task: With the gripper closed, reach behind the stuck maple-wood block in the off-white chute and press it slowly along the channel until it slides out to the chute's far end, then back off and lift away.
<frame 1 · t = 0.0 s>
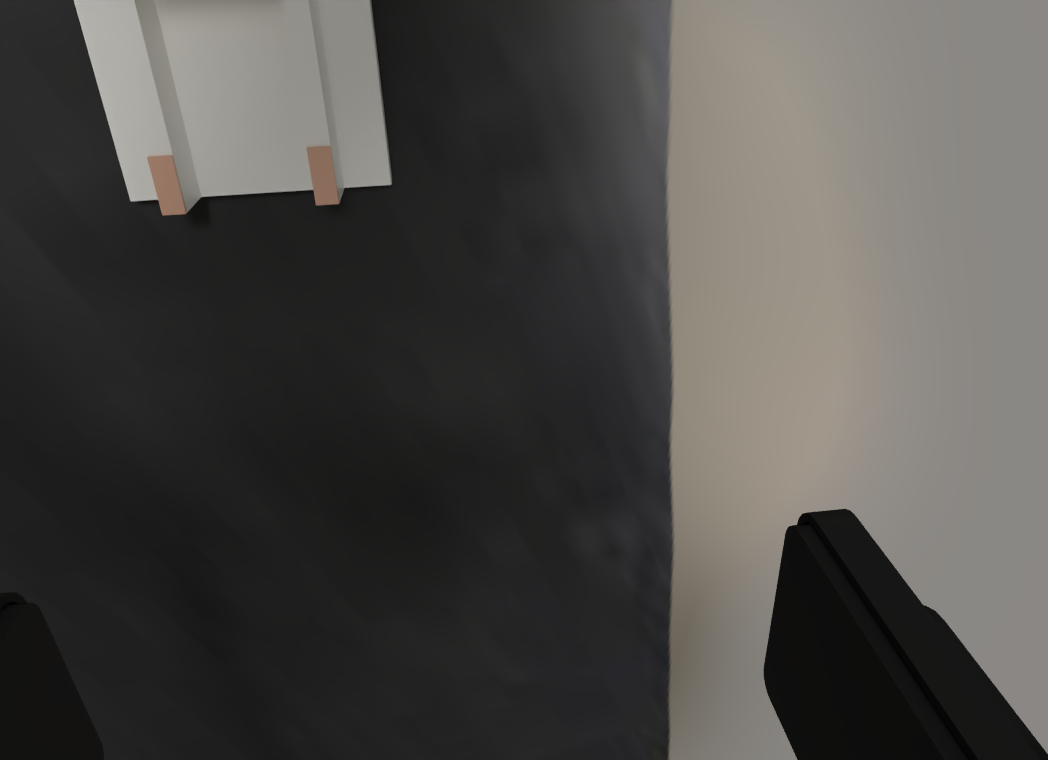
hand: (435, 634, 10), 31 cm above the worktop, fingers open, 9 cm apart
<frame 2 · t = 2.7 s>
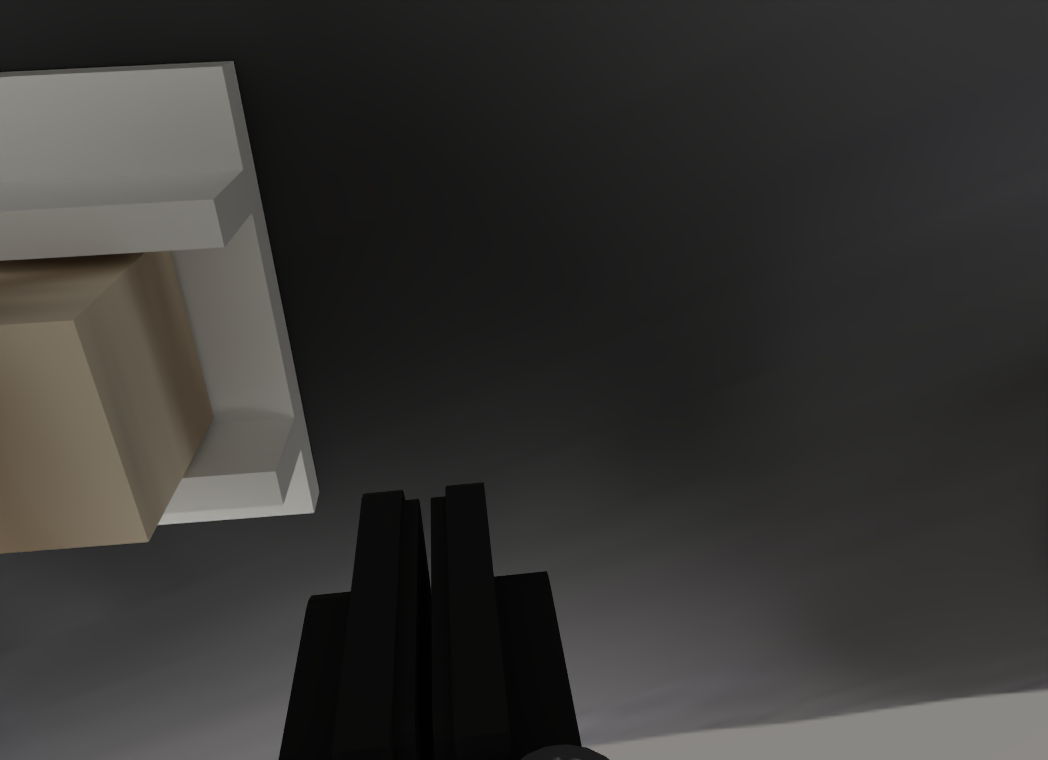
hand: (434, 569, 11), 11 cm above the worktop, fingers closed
jammed block: (40, 386, 17), point 4 cm above the worktop, slide at 0.0 cm
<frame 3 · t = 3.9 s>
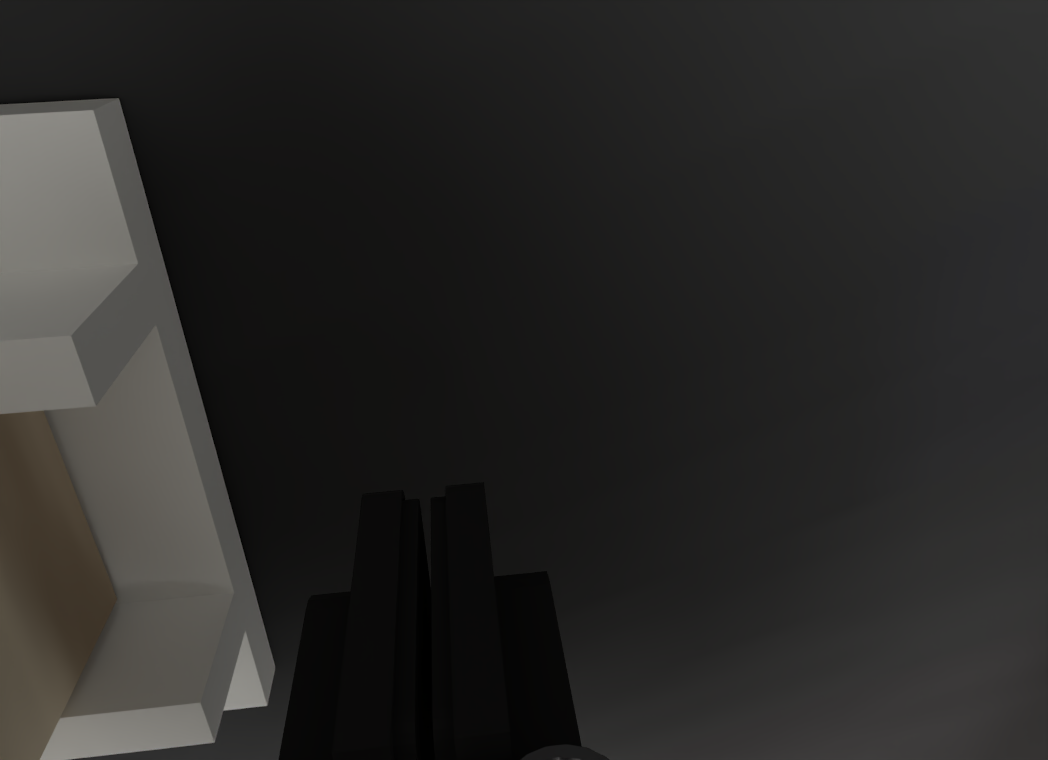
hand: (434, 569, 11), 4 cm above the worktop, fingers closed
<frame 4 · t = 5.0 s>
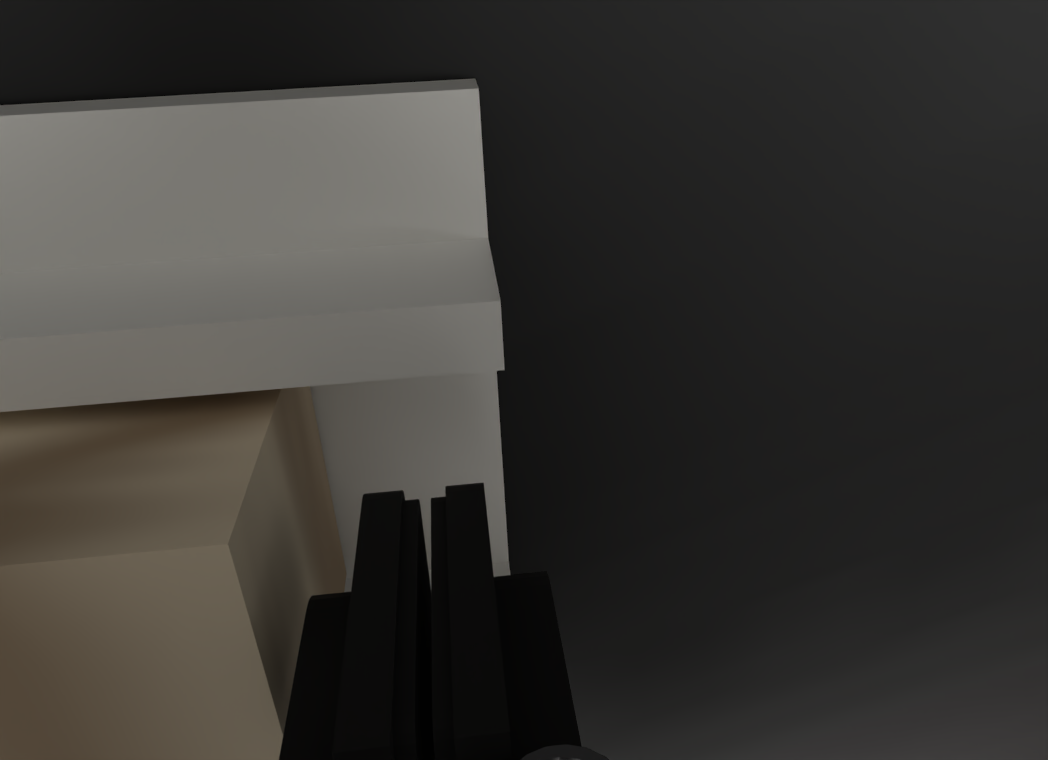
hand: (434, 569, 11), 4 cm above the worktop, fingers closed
jammed block: (128, 580, 11), point 4 cm above the worktop, slide at 1.1 cm, touching gripper
chute: (31, 454, 14), on the worktop
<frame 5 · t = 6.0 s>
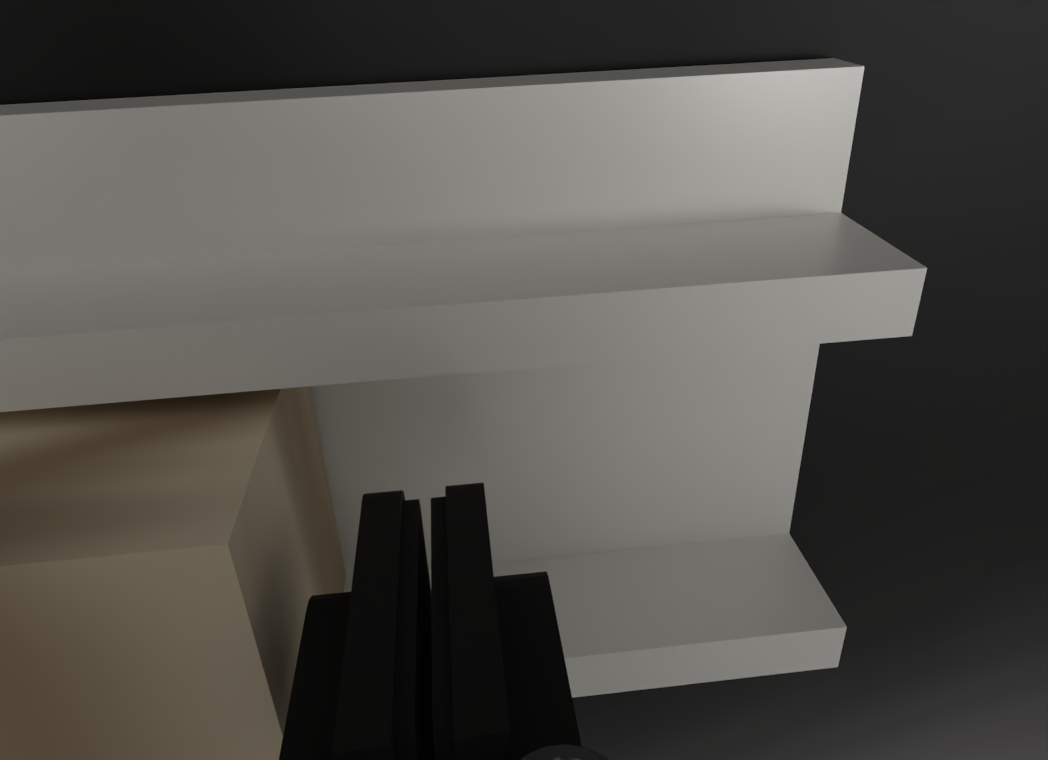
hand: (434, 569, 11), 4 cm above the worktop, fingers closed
jammed block: (127, 580, 11), point 4 cm above the worktop, slide at 6.8 cm, touching gripper
chute: (346, 426, 15), on the worktop
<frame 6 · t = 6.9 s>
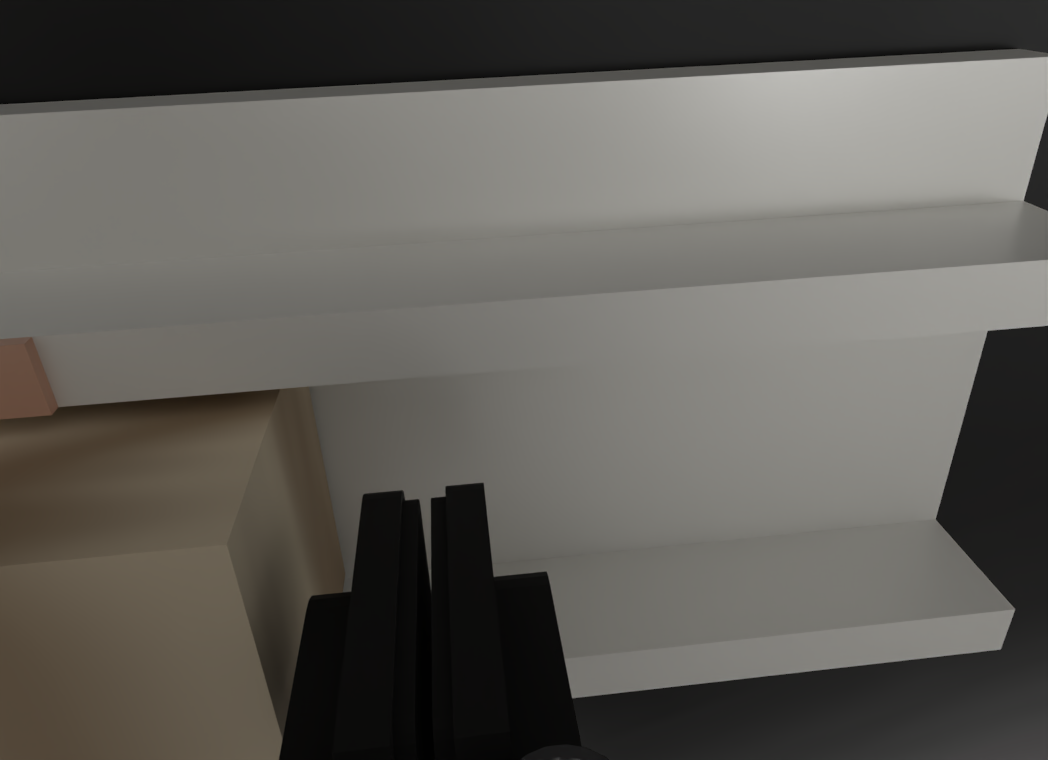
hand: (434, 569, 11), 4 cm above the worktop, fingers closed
jammed block: (126, 580, 11), point 4 cm above the worktop, slide at 9.9 cm, touching gripper
chute: (510, 412, 15), on the worktop
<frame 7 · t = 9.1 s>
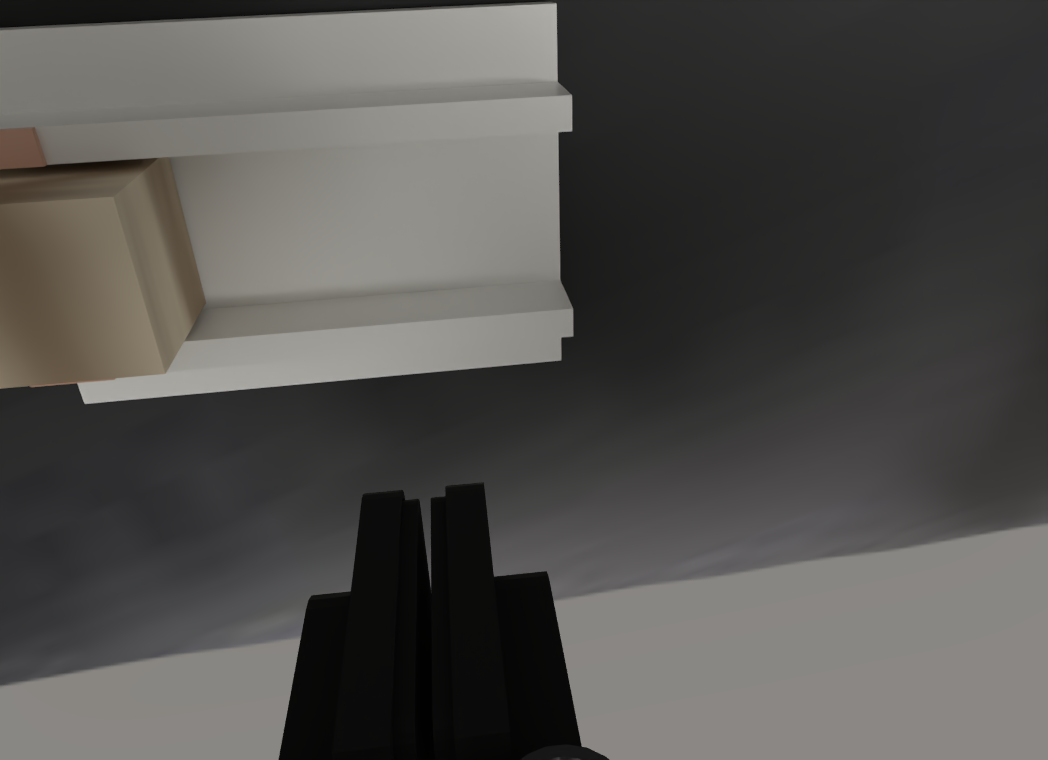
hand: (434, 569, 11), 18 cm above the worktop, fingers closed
jammed block: (76, 264, 23), point 4 cm above the worktop, slide at 10.0 cm
chute: (304, 211, 26), on the worktop
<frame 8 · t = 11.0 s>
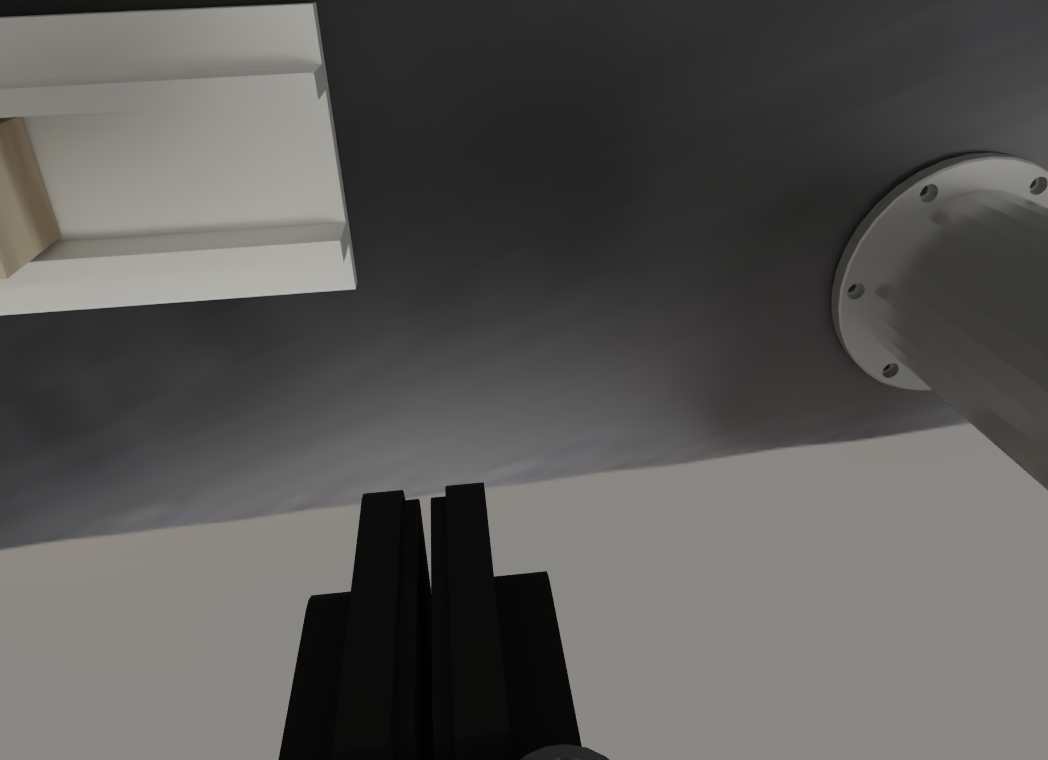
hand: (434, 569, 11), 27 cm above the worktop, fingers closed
chute: (138, 165, 34), on the worktop
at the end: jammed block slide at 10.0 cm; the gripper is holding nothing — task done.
